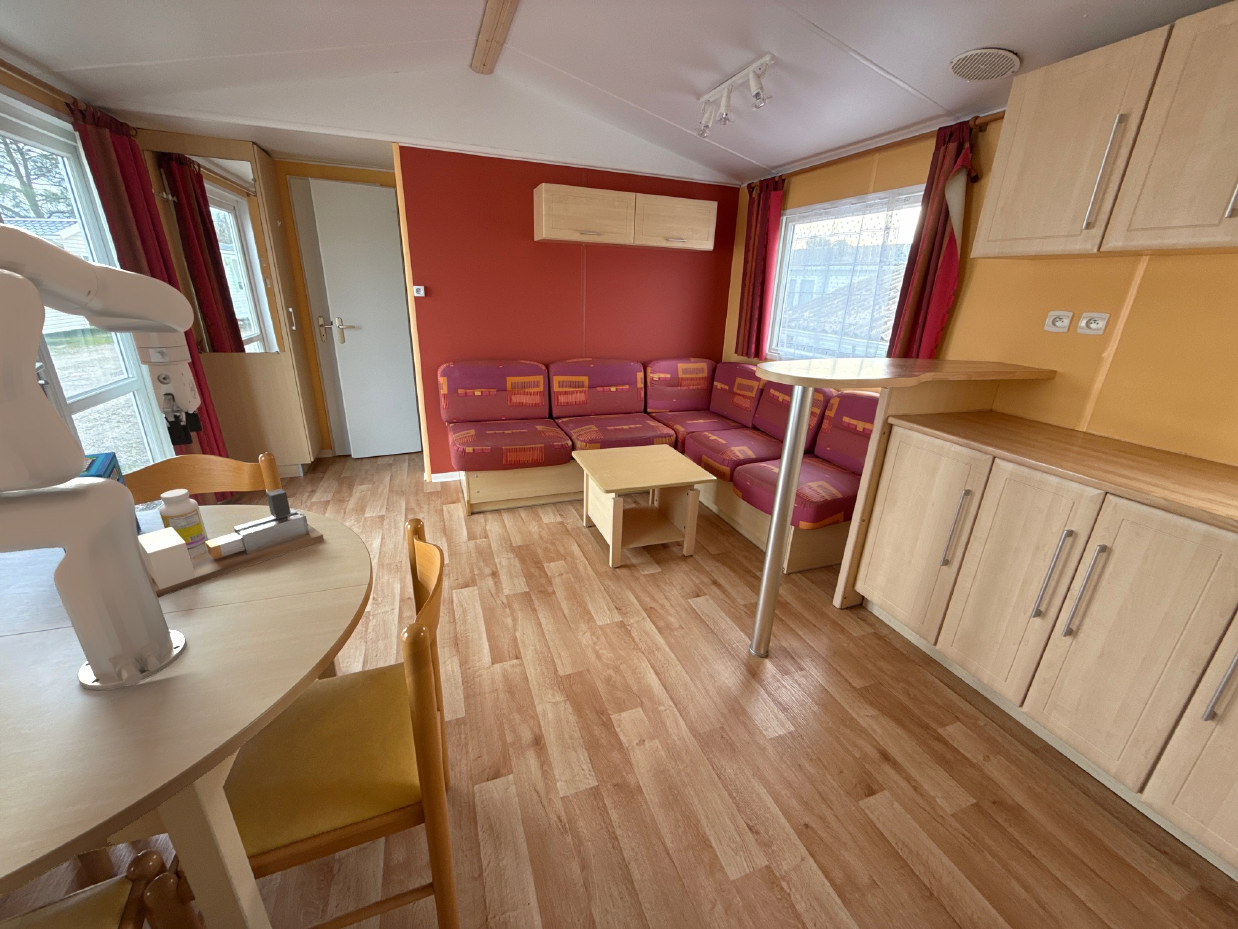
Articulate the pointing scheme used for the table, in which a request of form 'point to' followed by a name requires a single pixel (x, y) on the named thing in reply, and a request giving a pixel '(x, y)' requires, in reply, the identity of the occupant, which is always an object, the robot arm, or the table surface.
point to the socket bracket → (166, 557)
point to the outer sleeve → (272, 531)
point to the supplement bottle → (183, 517)
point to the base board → (236, 561)
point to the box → (104, 471)
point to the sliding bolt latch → (235, 540)
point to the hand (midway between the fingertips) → (188, 437)
